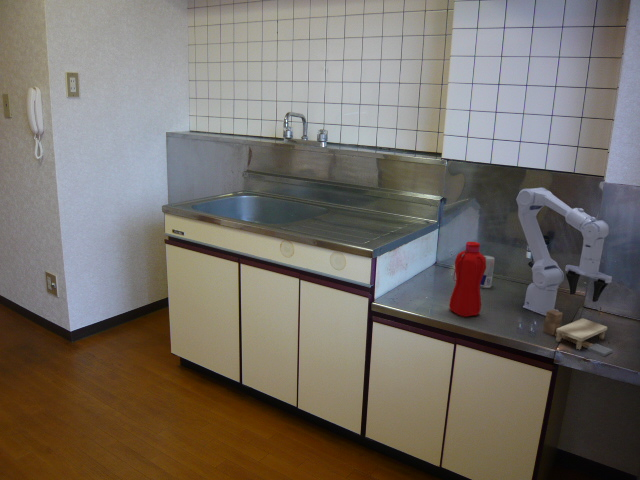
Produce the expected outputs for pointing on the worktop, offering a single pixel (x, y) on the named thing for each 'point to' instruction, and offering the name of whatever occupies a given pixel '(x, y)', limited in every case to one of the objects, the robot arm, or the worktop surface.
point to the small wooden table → (581, 331)
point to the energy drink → (488, 272)
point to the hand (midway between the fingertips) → (583, 297)
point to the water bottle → (468, 281)
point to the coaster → (600, 350)
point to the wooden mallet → (558, 326)
